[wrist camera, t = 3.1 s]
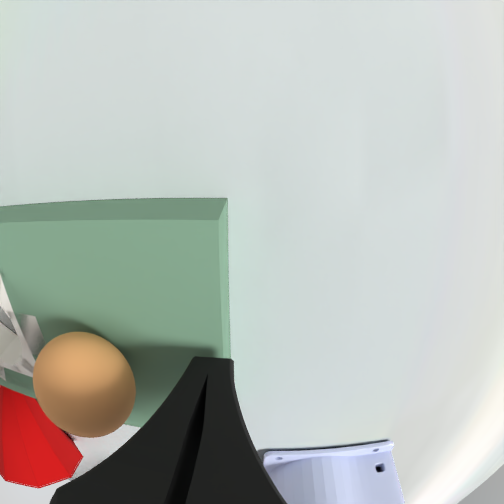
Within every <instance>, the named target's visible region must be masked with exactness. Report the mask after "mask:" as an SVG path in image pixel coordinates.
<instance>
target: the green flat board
mask: <svg viewBox="0 0 504 504" xmlns="http://www.w3.org/2000/svg"><path fill="white" fill-rule="evenodd" d="M0 306H1V307H2V309H3V310H4V311H5V313H6V314H7V315H8V317H9V318H10V319H11V321H12V324H13V326H14V328H15V331H16V333H17V335H16V334H15V333H14V332H12V331H11V330H10V329H8V328H7V327H6V326H5V325H3V324H2V323H1V322H0V385H2V386H4V387H7V388H9V389H11V390H14V391H16V392H19V393H21V394H24V395H26V396H29V397H32V398H34V399H37V398H36V395H35V392H34V387H33V370H34V365H35V362H36V359H37V357H38V355H39V353H40V352H41V350H42V349H43V348H44V346H45V345H46V344H47V343H48V342H50V341H51V340H52V339H54V338H55V337H57V336H59V335H62V334H65V333H69V332H87V333H92V334H95V335H98V336H100V337H102V338H104V339H106V340H107V341H109V342H110V343H111V344H113V345H114V346H115V347H116V348H117V349H118V350H119V351H120V352H121V353H122V354H123V355H124V357H125V358H126V360H127V362H128V363H129V365H130V367H131V370H132V372H133V375H134V380H135V386H136V396H135V403H134V406H133V409H132V411H131V414H130V416H129V417H128V419H127V420H126V421H125V423H124V424H126V425H131V426H136V427H142V426H143V425H144V424H145V423H146V422H147V421H148V420H149V419H150V418H151V416H152V415H153V414H154V413H155V412H156V410H157V409H158V408H159V407H160V406H161V404H162V403H163V402H164V401H165V399H166V398H167V397H168V395H169V394H170V392H171V391H172V390H173V388H174V387H175V385H176V384H177V383H178V381H179V379H180V378H181V376H182V375H183V373H184V372H185V370H186V368H187V367H188V365H189V363H190V361H191V360H192V358H193V357H195V356H199V357H214V358H230V359H231V354H230V321H229V278H228V198H149V199H112V200H88V201H69V202H53V203H38V204H25V205H14V206H3V207H0Z"/></svg>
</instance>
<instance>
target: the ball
mask: <svg viewBox="0 0 504 504" xmlns="http://www.w3.org/2000/svg"><path fill="white" fill-rule="evenodd" d="M33 387H34V392H35V395H36V398H37V401H38V403H39V405H40V407H41V408H42V410H43V412H44V413H45V414H46V416H47V417H48V418H49V419H50V420H51V421H52V422H53V423H54V424H55V425H56V426H58V427H59V428H61V429H62V430H64V431H66V432H68V433H70V434H73V435H76V436H80V437H88V438H94V437H101V436H105V435H108V434H110V433H112V432H114V431H115V430H117V429H118V428H119V427H121V426H122V425H123V424H124V423H125V421H126V420H127V419H128V417H129V416H130V414H131V411H132V409H133V406H134V403H135V396H136V386H135V380H134V375H133V372H132V370H131V367H130V365H129V363H128V362H127V360H126V358H125V357H124V355H123V354H122V353H121V352H120V351H119V350H118V349H117V348H116V347H115V346H114V345H113V344H111V343H110V342H109V341H107V340H106V339H104V338H102V337H100V336H98V335H95V334H92V333H87V332H69V333H65V334H62V335H59V336H57V337H55V338H54V339H52V340H51V341H50V342H48V343H47V344H46V345H45V346H44V348H43V349H42V350H41V352H40V353H39V355H38V357H37V359H36V362H35V365H34V370H33Z"/></svg>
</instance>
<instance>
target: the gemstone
mask: <svg viewBox="0 0 504 504" xmlns="http://www.w3.org/2000/svg"><path fill="white" fill-rule="evenodd" d="M0 386H1V387H0V473H1V474H2V475H1V474H0V475H1V476H2V477H3V479H4V480H5V481H7V480H9V481H8V482H11V481H13V482H12V483H16V482H17V483H16V484H20V483H22V484H20V485H24V484H26V485H25V486H29V485H31V486H30V487H34V486H36V487H35V488H41V487H44V486H48V485H51V484H54V483H56V482H60V481H62V480H65V479H68V478H71V477H72V475H73V474H74V472H75V470H76V469H77V467H78V465H79V463H80V462H81V460H82V458H83V456H82V454H81V453H80V451H79V450H78V448H77V447H76V445H75V443H74V442H73V440H71V439H70V438H69V437H68V436H67V435H66V434H65V433H64V431H63V430H62V429H61V428H59V427H58V426H56V425H55V424H54V423H53V422H52V421H51V420H50V419H49V418H48V417H47V416H46V414H45V413H44V412H43V410H42V408H41V407H40V405H39V403H38V401H37V400H36V399H34V398H32V397H29V396H26V395H24V394H21V393H19V392H16V391H14V390H11V389H9V388H7V387H4V386H2V385H0ZM81 457H82V458H81ZM80 459H81V460H80ZM79 460H80V461H79ZM78 462H79V463H78ZM77 464H78V465H77ZM75 467H76V468H75ZM74 469H75V470H74ZM73 471H74V472H73ZM72 472H73V473H72ZM71 474H72V475H71ZM67 477H68V478H67ZM64 478H65V479H64ZM61 479H62V480H61ZM58 480H59V481H58ZM55 481H56V482H55ZM52 482H54V483H52ZM49 483H51V484H49ZM46 484H48V485H46ZM43 485H44V486H43ZM40 486H41V487H40Z"/></svg>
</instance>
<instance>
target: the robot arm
mask: <svg viewBox="0 0 504 504" xmlns="http://www.w3.org/2000/svg"><path fill="white" fill-rule="evenodd" d="M393 447H394V443H393V441H386V442H380V443H374V444H367V445H360V446H352V447H343V448H332V449H320V450H302V451H269V452H266V453H265V454H264V459H263V464H262V462H261V460H260V458H259V456H258V454H257V451H256V449H255V447H254V445H253V443H252V440H251V438H250V435H249V433H248V430H247V428H246V425H245V422H244V419H243V416H242V413H241V410H240V406H239V402H238V398H237V394H236V390H235V384H234V361H233V360H232V359H230V358H214V357H199V356H195V357H193V358H192V360H191V361H190V363H189V365H188V367H187V368H186V370H185V372H184V373H183V375H182V376H181V378H180V379H179V381H178V383H177V384H176V385H175V387H174V388H173V390H172V391H171V392H170V394H169V395H168V397H167V398H166V399H165V401H164V402H163V403H162V404H161V406H160V407H159V408H158V409H157V410H156V412H155V413H154V414H153V415H152V416H151V418H150V419H149V420H148V421H147V422H146V423H145V424H144V425H143V426H142V427H141V429H140V430H139V431H138V432H137V433H136V434H135V435H133V436H132V437H131V438H130V439H129V440H128V441H127V442H126V443H125V444H124V445H123V446H121V447H120V448H119V449H118V450H117V451H116V452H114V453H113V454H112V455H111V456H109V457H108V458H107V459H105V460H104V461H102V462H101V463H100V464H98V465H97V466H95V467H94V468H92V469H91V470H89V471H88V472H86V473H85V474H83V475H81V476H80V477H78V478H76V479H74V480H72V481H70V482H69V483H67V484H65V485H63V486H61V487H59V488H57V489H56V492H55V494H54V495H53V497H52V499H51V501H50V504H405V502H404V498H403V493H402V490H401V486H400V482H399V478H398V474H397V470H396V467H395V463H394V460H393V456H392V453H391V450H392V448H393Z"/></svg>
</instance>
